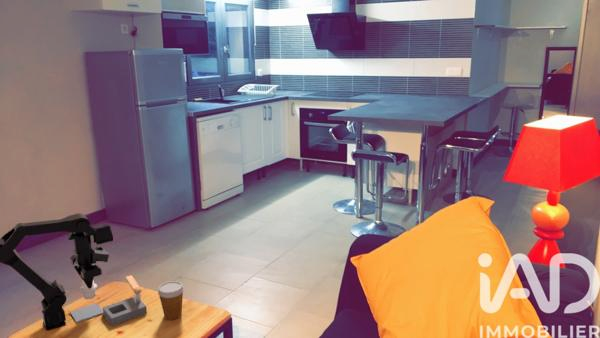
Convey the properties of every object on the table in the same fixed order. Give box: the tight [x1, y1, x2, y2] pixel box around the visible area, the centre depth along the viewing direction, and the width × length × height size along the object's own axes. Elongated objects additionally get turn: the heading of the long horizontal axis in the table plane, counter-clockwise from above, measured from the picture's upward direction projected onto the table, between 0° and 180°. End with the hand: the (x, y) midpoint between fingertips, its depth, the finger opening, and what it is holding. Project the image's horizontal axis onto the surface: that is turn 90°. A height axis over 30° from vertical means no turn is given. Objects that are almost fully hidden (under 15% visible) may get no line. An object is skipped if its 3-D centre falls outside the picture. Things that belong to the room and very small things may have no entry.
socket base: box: [102, 292, 148, 326], centre depth 177 cm, size 13×10×7 cm
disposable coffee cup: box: [157, 280, 185, 321], centre depth 175 cm, size 10×10×12 cm
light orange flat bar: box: [125, 275, 142, 295], centre depth 184 cm, size 14×3×1 cm, turn 34°
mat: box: [69, 302, 104, 324], centre depth 178 cm, size 10×9×1 cm
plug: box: [79, 279, 98, 300], centre depth 176 cm, size 6×6×7 cm
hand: (88, 285), depth 176 cm, fingers closed on plug, 4 cm apart
